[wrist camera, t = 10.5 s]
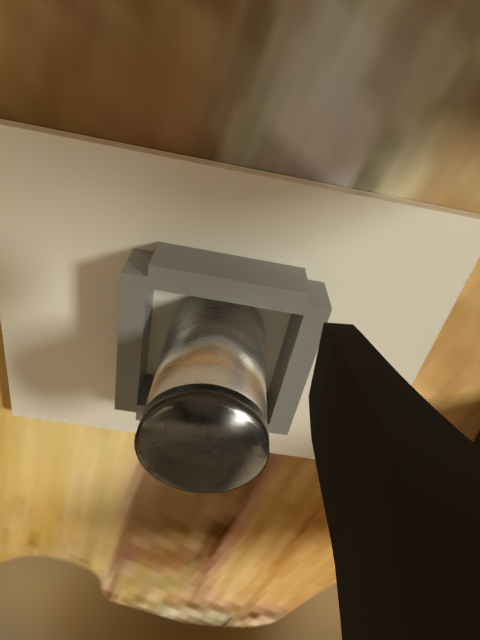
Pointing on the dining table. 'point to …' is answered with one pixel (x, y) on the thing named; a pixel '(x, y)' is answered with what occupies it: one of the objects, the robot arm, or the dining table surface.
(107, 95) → the dining table surface
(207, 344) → the lens
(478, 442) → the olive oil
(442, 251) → the mount plate
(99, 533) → the dining table surface
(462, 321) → the dining table surface
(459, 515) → the robot arm
